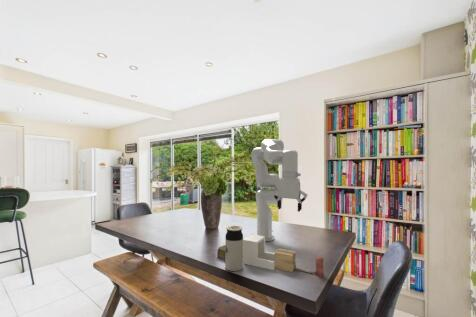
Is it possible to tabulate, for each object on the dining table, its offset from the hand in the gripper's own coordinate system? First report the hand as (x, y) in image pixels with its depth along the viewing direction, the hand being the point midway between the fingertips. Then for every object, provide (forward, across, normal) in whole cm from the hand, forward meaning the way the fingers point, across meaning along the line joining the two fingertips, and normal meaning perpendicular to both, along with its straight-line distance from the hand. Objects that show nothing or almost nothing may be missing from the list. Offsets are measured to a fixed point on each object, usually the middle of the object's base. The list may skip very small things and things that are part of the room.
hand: (289, 209), depth 111 cm
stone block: (+26, +28, +12) cm, 39 cm away
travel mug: (+25, +20, +20) cm, 38 cm away
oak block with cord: (+24, -7, +9) cm, 27 cm away
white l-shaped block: (+25, +10, +9) cm, 28 cm away
